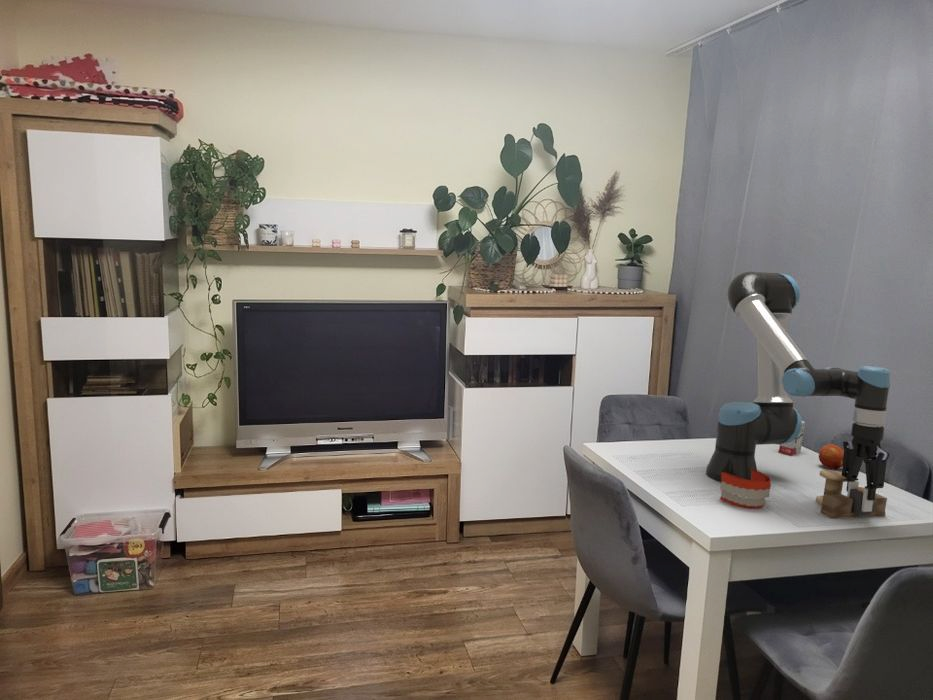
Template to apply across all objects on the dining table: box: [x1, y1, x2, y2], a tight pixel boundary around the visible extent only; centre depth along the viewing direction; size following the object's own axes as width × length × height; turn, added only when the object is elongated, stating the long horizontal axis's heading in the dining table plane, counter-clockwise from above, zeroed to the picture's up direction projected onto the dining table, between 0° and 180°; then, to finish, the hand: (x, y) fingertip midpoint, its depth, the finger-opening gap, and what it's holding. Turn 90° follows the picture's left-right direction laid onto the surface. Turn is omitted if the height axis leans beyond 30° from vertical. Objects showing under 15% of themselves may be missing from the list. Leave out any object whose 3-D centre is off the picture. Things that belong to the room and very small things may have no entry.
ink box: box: [778, 420, 806, 457], centre depth 256 cm, size 8×5×12 cm, turn 134°
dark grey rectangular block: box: [849, 486, 871, 515], centre depth 194 cm, size 4×4×7 cm
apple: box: [818, 443, 844, 470], centre depth 240 cm, size 8×8×8 cm
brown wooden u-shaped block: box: [819, 493, 888, 519], centre depth 196 cm, size 18×4×5 cm, turn 105°
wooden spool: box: [815, 469, 847, 506], centre depth 203 cm, size 8×8×9 cm
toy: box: [719, 469, 772, 509], centre depth 199 cm, size 12×10×8 cm
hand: (858, 507), depth 194 cm, fingers open, 5 cm apart
